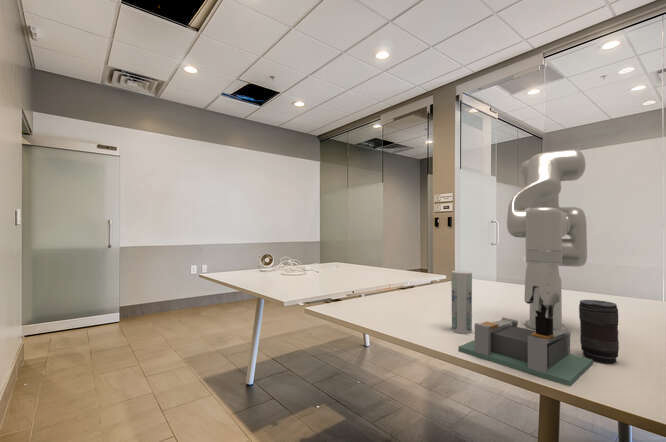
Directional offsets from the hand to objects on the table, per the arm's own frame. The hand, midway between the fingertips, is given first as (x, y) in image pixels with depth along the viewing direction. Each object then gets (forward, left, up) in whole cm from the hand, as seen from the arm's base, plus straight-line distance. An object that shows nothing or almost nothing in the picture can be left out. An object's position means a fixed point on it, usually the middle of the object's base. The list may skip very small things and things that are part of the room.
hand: (544, 333), depth 78 cm
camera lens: (-21, +6, -9) cm, 23 cm away
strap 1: (-5, -13, -3) cm, 14 cm away
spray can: (-14, -29, -9) cm, 33 cm away
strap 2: (-5, 0, -2) cm, 5 cm away
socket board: (-5, -7, -9) cm, 12 cm away
